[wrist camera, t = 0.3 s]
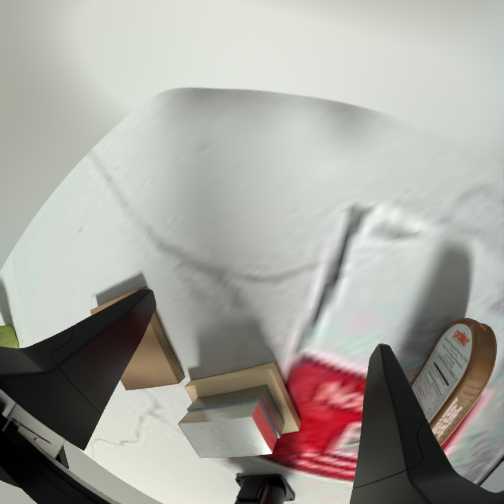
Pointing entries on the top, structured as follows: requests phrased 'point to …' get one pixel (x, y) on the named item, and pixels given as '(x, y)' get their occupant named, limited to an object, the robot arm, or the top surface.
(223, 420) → the block
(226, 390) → the oak stand
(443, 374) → the tin
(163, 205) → the top surface
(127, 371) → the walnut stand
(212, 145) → the top surface
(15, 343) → the plant pot
